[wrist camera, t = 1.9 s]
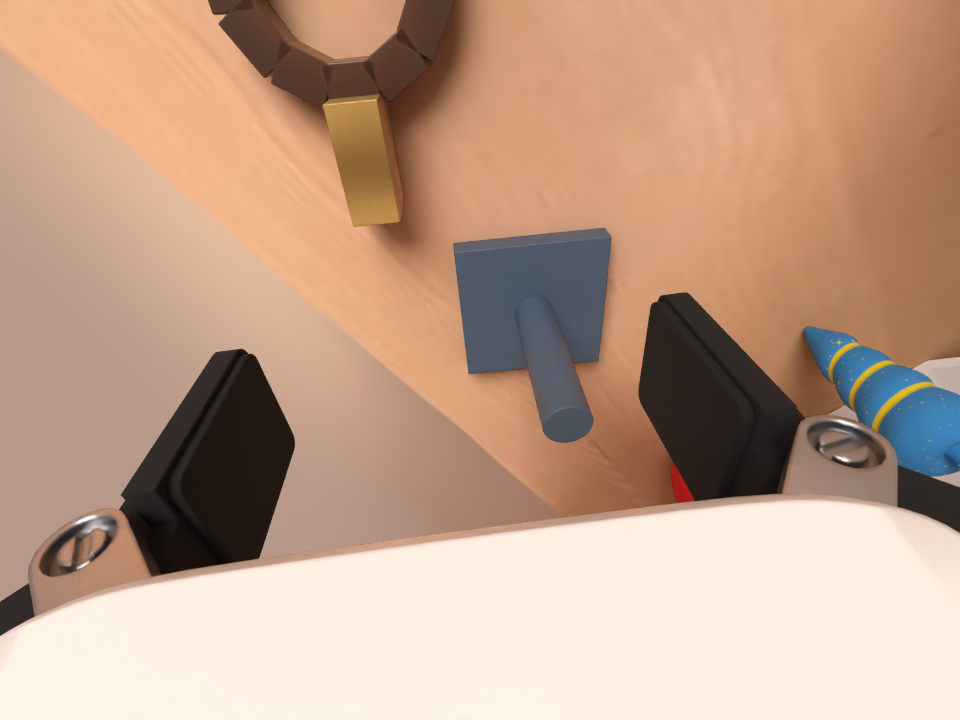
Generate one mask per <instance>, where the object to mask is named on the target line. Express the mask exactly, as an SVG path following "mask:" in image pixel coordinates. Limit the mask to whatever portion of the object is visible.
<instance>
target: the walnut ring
mask: <svg viewBox="0 0 960 720" xmlns="http://www.w3.org/2000/svg"><path fill="white" fill-rule="evenodd" d="M208 1H209V4H210V7H211V10H212V13H213V14H214V15H226V16H225V17H224V18H223V19H222V20H221V21H220V22H219V25H220V27H221V28H222V29H223V30H224V31H225V33H226V34H227V35H228V36H229V37H230V38H231V40H232V41H233V42H234V43H235V44H236V45H237V47H238V48H239V49H240V50H241V51H242V53H243V54H244V55H245V56H246V57H247V58H248V60H249V61H250V62H251V63H252V64H253V65H254V67H255V68H256V69H257V70H258V71H259V73H260V74H261V75H262V76H263V77H264V78H266V77H268V76H271V75H273V76H272V82H271V83H272V84H273V85H275V86H277V87H279V88H281V89H283V90H285V91H288V92H290V93H292V94H294V95H296V96H298V97H300V98H302V99H304V100H307V101H309V102H311V103H313V104H315V105H317V106H319V107H321V108H323V109H324V113H325V117H326V121H327V125H328V129H329V133H330V137H331V141H332V145H333V149H334V153H335V157H336V161H337V165H338V168H339V172H340V176H341V180H342V184H343V188H344V192H345V196H346V200H347V204H348V208H349V212H350V216H351V220H352V223H353V227H358V226H367V225H377V224H387V223H397V222H400V219H401V213H402V208H403V203H404V197H403V192H402V186H401V181H400V175H399V169H398V164H397V158H396V153H395V147H394V141H393V136H392V130H391V124H390V119H389V113H388V108H387V102H386V100H387V101H388V102H390V101H391V100H392V99H394V98H395V97H396V96H397V95H398V94H399V93H401V92H402V91H403V90H404V89H405V88H406V87H408V86H409V85H410V84H411V83H412V82H413V81H415V80H416V79H417V78H418V77H419V76H420V75H422V74H423V73H424V72H425V71H426V70H428V68H429V62H428V61H427V59H429V60H431V61H434V58H435V55H436V53H437V50H438V47H439V44H440V41H441V38H442V35H443V33H444V30H445V27H446V24H447V21H448V18H449V15H450V13H451V10H452V7H453V4H454V0H406V2H405V5H404V9H403V12H402V15H401V18H400V22H399V25H398V28H397V32H396V33H395V34H394V35H392V36H391V37H390V38H389V39H388V40H387V41H386V42H385V43H384V44H383V45H381V46H380V47H379V48H378V49H377V50H376V51H375V52H374V53H373V54H372V55H370V56H367V57H356V58H346V59H336V60H335V59H333V58H331V57H329V56H327V55H325V54H323V53H321V52H319V51H317V50H315V49H313V48H311V47H309V46H307V45H305V44H303V43H301V42H299V41H297V39H296V38H295V37H294V36H293V34H292V33H291V32H290V30H289V29H288V28H287V27H286V25H285V24H284V23H283V21H282V20H281V19H280V18H279V16H278V15H277V14H276V12H275V11H274V10H273V8H272V7H271V6H270V5H269V3H268V2H267V0H208ZM426 58H427V59H426Z"/></svg>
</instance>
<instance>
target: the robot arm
mask: <svg viewBox="0 0 960 720" xmlns="http://www.w3.org/2000/svg"><path fill="white" fill-rule="evenodd" d="M639 399H640V402H641V405H642V406H643V408H644V410H645V412H646V414H647V415H648V417H649V419H650V421H651V423H652V424H653V426H654V428H655V430H656V432H657V434H658V435H659V437H660V439H661V441H662V443H663V444H664V446H665V448H666V450H667V452H668V453H669V455H670V457H671V459H672V461H673V462H674V464H675V466H676V468H677V470H678V471H679V473H680V475H681V477H682V479H683V480H684V482H685V484H686V486H687V488H688V489H689V491H690V493H691V495H692V497H693V498H694V500H695V501H694V502H685V503H676V504H667V505H658V506H650V507H642V508H634V509H626V510H619V511H611V512H603V513H595V514H587V515H580V516H572V517H564V518H556V519H548V520H541V521H533V522H525V523H518V524H510V525H503V526H495V527H488V528H481V529H472V530H465V531H458V532H451V533H442V534H435V535H428V536H420V537H413V538H405V539H398V540H390V541H383V542H376V543H369V544H361V545H354V546H347V547H340V548H334V549H326V550H318V551H311V552H305V553H297V554H289V555H282V556H275V557H268V558H261V559H259V557H260V554H261V551H262V548H263V545H264V542H265V539H266V536H267V533H268V529H269V526H270V523H271V520H272V517H273V514H274V511H275V507H276V505H277V501H278V498H279V495H280V492H281V489H282V486H283V482H284V480H285V476H286V473H287V470H288V467H289V464H290V461H291V458H292V455H293V452H294V448H295V440H294V436H293V433H292V431H291V429H290V427H289V424H288V422H287V420H286V418H285V416H284V414H283V412H282V410H281V408H280V406H279V404H278V402H277V400H276V397H275V395H274V393H273V392H272V389H271V387H270V385H269V383H268V381H267V379H266V377H265V375H264V373H263V371H262V368H261V366H260V364H259V362H258V360H257V358H256V357H255V356H254V355H253V354H248V353H247V352H246V351H245V350H243V349H237V350H229V351H221V352H216V353H215V354H214V355H213V356H212V357H211V359H210V360H209V362H208V363H207V365H206V366H205V368H204V369H203V371H202V373H201V374H200V375H199V377H198V379H197V380H196V382H195V383H194V385H193V386H192V388H191V389H190V391H189V392H188V394H187V395H186V397H185V398H184V400H183V401H182V403H181V404H180V406H179V407H178V409H177V410H176V412H175V413H174V415H173V417H172V418H171V419H170V421H169V422H168V424H167V426H166V427H165V429H164V430H163V432H162V433H161V435H160V436H159V438H158V439H157V441H156V442H155V444H154V445H153V447H152V448H151V450H150V451H149V453H148V454H147V456H146V457H145V459H144V460H143V462H142V463H141V465H140V467H139V468H138V470H137V471H136V473H135V474H134V476H133V477H132V479H131V480H130V482H129V483H128V485H127V487H126V488H125V489H124V491H123V492H122V494H121V496H122V497H123V498H124V499H125V502H124V503H123V505H122V506H121V508H120V509H119V510H116V509H113V508H110V509H99V510H96V511H92V512H89V513H86V514H84V515H82V516H80V517H78V518H76V519H73V520H72V521H70V522H69V523H67V524H66V525H64V526H63V527H61V528H59V529H58V530H57V531H56V532H55V533H54V534H52V535H51V536H50V537H49V538H48V539H47V540H46V541H45V542H44V543H43V544H42V545H41V546H40V548H39V549H38V550H37V551H36V552H35V554H34V556H33V558H32V560H31V562H30V564H29V569H28V579H29V583H28V584H27V585H25V586H24V587H22V588H21V589H19V590H18V591H16V592H14V593H13V594H12V595H10V596H8V597H7V598H5V599H4V600H2V601H1V602H0V720H960V487H958V486H955V485H952V484H949V483H947V482H944V481H941V480H938V479H935V478H933V477H930V476H927V475H924V474H921V473H919V472H916V471H913V470H910V469H907V468H905V467H902V466H899V465H898V459H897V455H896V451H895V449H894V448H893V446H892V445H891V444H890V442H889V441H888V440H887V439H886V438H885V437H883V436H882V435H881V434H880V433H878V432H877V431H876V430H874V429H872V428H870V427H868V426H867V425H865V424H863V423H860V422H858V421H855V420H852V419H849V418H846V417H841V416H836V415H816V416H811V417H808V418H805V417H804V416H803V415H802V414H801V413H800V412H799V411H798V410H797V409H796V407H797V406H796V405H795V404H794V403H793V402H792V401H791V400H790V399H789V398H788V397H787V396H786V394H785V393H784V392H783V391H782V390H781V389H780V388H779V387H778V386H777V385H776V384H775V383H774V382H773V381H772V380H771V379H770V378H769V377H768V376H767V375H766V374H765V373H764V372H763V370H762V369H761V368H760V367H759V366H758V365H757V364H756V363H755V362H754V361H753V360H752V359H751V358H750V357H749V356H748V355H747V354H746V353H745V352H744V351H743V350H742V349H741V348H740V346H739V345H738V344H737V343H736V342H735V341H734V340H733V339H732V338H731V337H730V336H729V335H728V334H727V333H726V332H725V331H724V330H723V329H722V328H721V327H720V326H719V325H718V324H717V322H716V321H715V320H714V319H713V318H712V317H711V316H710V315H709V314H708V313H707V312H706V311H705V310H704V309H703V308H702V307H701V306H700V305H699V304H698V303H697V302H696V301H695V300H694V298H693V297H692V296H691V295H690V294H688V293H677V294H669V295H662V296H660V297H659V299H658V302H654V303H653V304H652V305H651V308H650V315H649V322H648V328H647V335H646V342H645V349H644V356H643V363H642V369H641V376H640V383H639Z"/></svg>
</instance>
